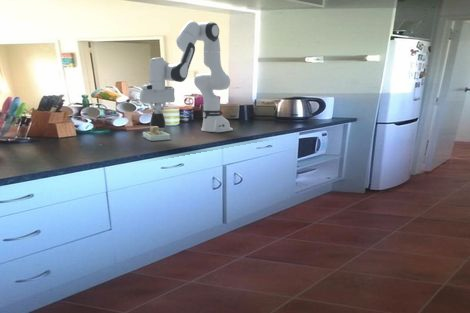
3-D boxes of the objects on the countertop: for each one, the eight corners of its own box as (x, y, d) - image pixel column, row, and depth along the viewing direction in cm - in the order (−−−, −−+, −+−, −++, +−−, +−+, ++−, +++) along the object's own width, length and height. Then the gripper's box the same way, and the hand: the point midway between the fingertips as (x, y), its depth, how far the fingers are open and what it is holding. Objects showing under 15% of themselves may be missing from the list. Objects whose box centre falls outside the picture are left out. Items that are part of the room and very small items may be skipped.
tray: (161, 135, 228) (161, 130, 228) (170, 139, 217) (170, 134, 216) (142, 137, 222) (142, 132, 221) (150, 141, 211) (150, 135, 210)
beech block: (156, 135, 225) (156, 126, 224) (158, 136, 222) (158, 127, 220) (150, 136, 223) (149, 126, 222) (152, 137, 220) (152, 127, 218)
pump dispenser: (167, 131, 246) (167, 108, 243) (163, 133, 236) (162, 110, 233) (153, 130, 247) (152, 108, 244) (148, 132, 237) (147, 109, 233)
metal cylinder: (160, 112, 216) (159, 102, 214) (162, 113, 212) (162, 103, 211) (153, 113, 214) (153, 102, 212) (155, 113, 210) (155, 103, 209)
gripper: (172, 86, 218) (172, 109, 221) (138, 86, 207) (139, 110, 210) (176, 86, 212) (176, 110, 216) (142, 86, 202) (142, 111, 205)
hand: (157, 110), depth 213 cm, fingers closed on metal cylinder, 4 cm apart
